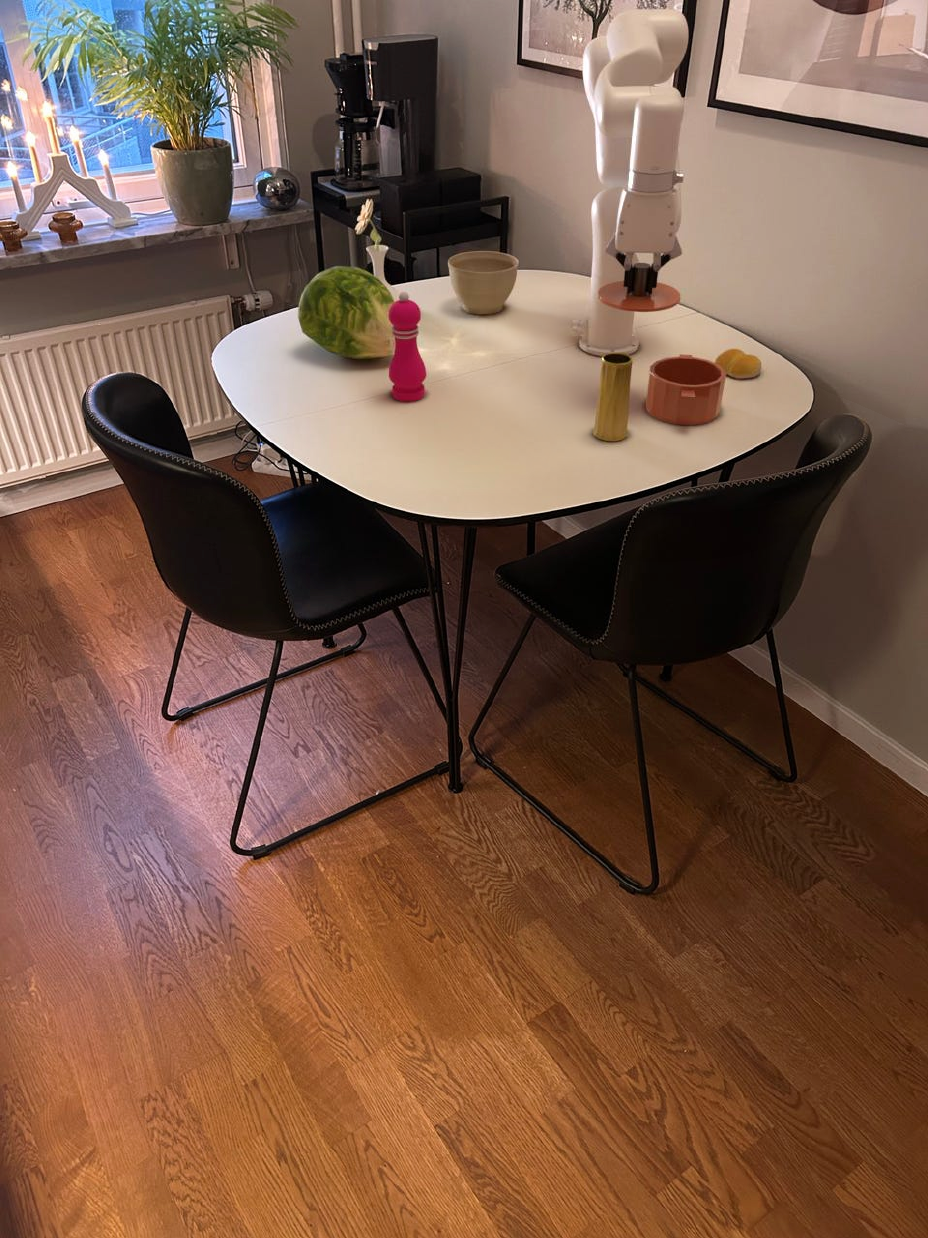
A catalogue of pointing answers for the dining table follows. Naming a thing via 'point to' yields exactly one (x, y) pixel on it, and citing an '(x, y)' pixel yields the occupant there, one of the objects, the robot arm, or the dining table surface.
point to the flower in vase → (375, 247)
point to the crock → (685, 390)
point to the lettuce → (348, 313)
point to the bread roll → (739, 364)
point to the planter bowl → (483, 279)
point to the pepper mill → (406, 351)
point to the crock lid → (639, 293)
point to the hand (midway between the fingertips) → (639, 290)
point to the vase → (613, 397)
